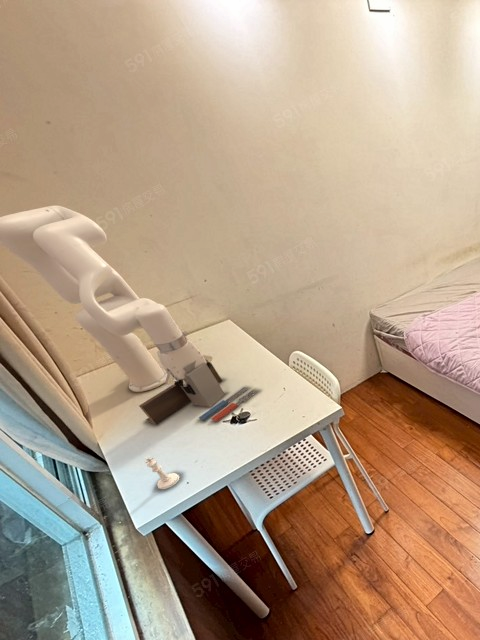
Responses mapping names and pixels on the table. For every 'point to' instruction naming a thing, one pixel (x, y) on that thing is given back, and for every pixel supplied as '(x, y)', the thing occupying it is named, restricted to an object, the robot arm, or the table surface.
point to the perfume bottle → (202, 385)
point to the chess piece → (162, 475)
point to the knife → (221, 405)
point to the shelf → (168, 402)
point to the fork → (232, 406)
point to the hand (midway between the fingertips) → (201, 387)
